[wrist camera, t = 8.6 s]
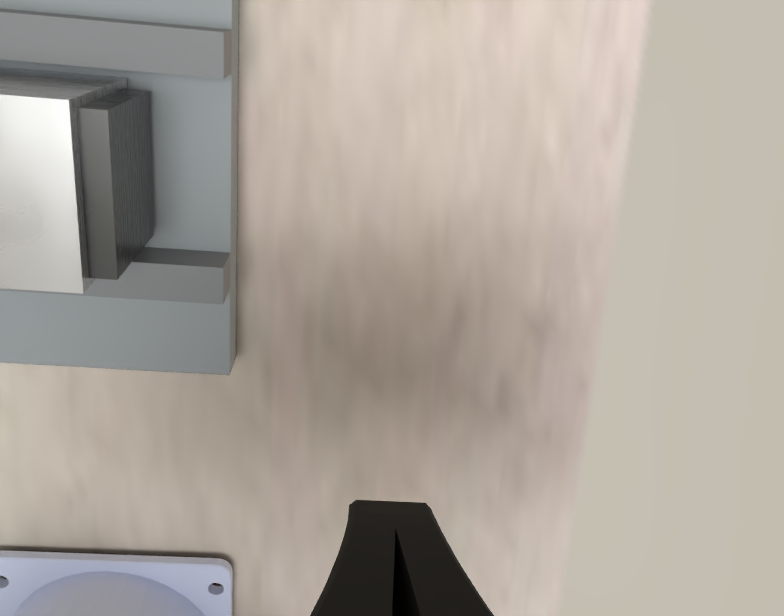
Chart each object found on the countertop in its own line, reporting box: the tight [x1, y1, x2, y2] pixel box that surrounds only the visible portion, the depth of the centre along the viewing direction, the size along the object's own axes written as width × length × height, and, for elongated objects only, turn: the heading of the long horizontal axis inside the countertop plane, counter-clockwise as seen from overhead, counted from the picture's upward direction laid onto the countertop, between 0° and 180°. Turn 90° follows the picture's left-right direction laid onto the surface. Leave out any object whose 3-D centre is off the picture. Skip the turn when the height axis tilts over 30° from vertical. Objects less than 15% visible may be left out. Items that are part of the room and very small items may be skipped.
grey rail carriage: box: [0, 67, 153, 294], centre depth 17 cm, size 4×6×4 cm
